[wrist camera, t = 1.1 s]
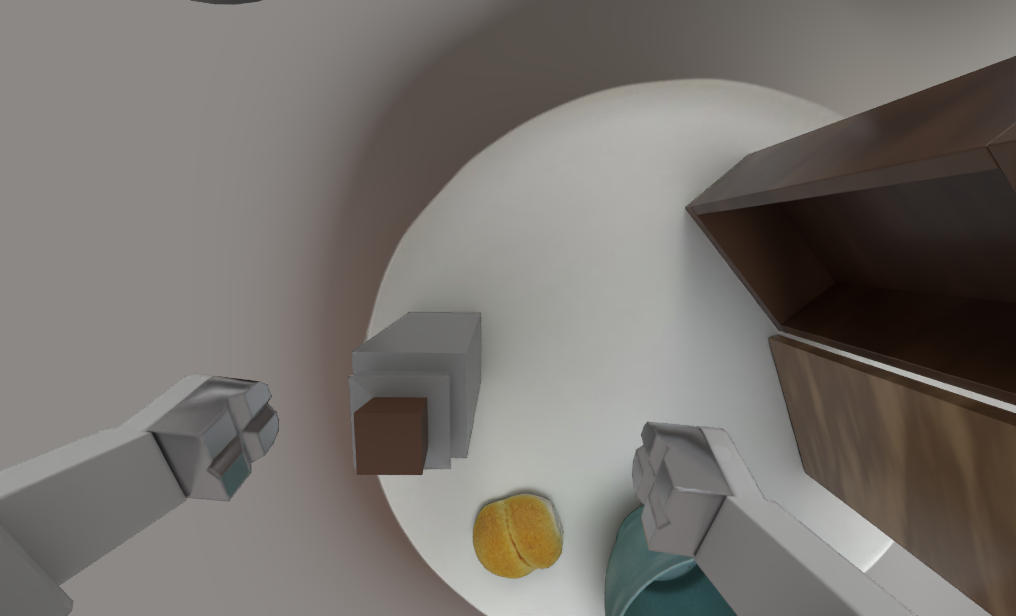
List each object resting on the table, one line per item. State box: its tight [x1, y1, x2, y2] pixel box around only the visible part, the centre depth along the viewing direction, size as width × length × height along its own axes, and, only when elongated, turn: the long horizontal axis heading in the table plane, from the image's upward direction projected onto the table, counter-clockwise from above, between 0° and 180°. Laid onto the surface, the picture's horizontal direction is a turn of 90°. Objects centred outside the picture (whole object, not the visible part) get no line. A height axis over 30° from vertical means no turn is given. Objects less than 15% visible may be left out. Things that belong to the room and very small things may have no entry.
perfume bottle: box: [349, 312, 481, 475], centre depth 28 cm, size 7×7×18 cm
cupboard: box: [685, 56, 1016, 405], centre depth 24 cm, size 7×15×23 cm, turn 41°
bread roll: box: [473, 493, 564, 578], centre depth 38 cm, size 8×9×4 cm
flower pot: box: [605, 505, 737, 616], centre depth 35 cm, size 16×16×11 cm
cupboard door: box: [769, 335, 1016, 616], centre depth 26 cm, size 6×15×23 cm, turn 21°
